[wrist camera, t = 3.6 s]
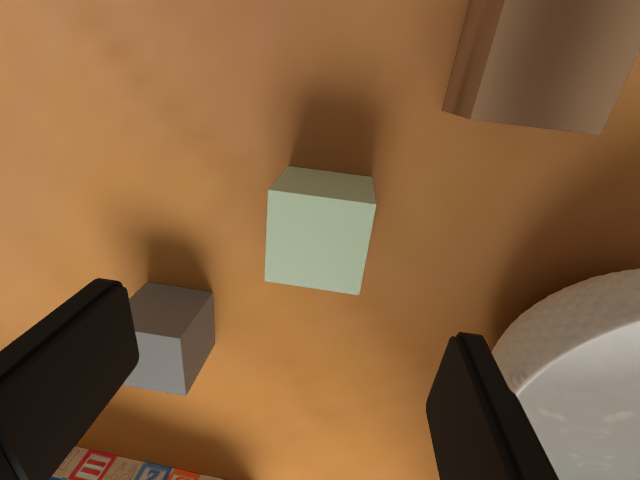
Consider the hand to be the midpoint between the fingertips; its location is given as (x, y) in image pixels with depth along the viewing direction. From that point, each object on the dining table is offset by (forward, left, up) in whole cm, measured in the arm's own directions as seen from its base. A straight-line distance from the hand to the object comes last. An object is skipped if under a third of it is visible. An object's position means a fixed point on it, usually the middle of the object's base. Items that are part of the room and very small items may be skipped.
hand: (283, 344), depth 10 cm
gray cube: (+10, +10, -12) cm, 19 cm away
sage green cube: (0, 0, -12) cm, 12 cm away
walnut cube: (-8, -9, -12) cm, 17 cm away
